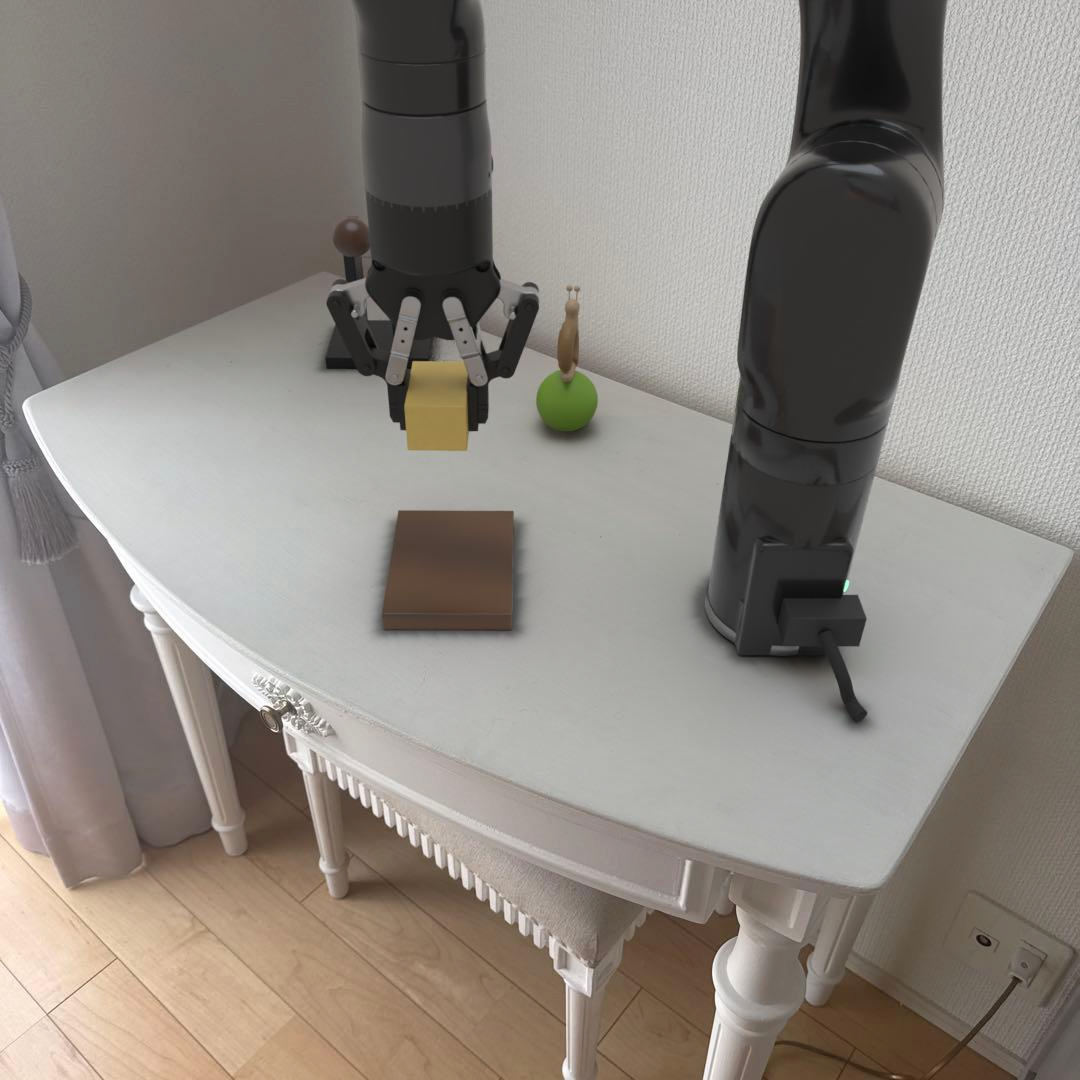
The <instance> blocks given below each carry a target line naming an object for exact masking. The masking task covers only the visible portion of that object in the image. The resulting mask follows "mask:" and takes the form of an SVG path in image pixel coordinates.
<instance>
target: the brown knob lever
mask: <svg viewBox="0 0 1080 1080" xmlns="http://www.w3.org/2000/svg"><path fill="white" fill-rule="evenodd" d="M347 217H348V218H347ZM347 217H345V218H343V219H341V220H339V221H338V222H337V223H336V225H335V226H334V227H333V231H332V242H333V245H334V247H335V248H336V250H337V251H338V252H339V253H340V254H341V255H345V256H347V257H359V256H360V257H362V258H365V259H368V258H369V259H371V249H370V237H369V226H368V223H366V222H365V221H364V220H362V219H361V218H359V217H358V218H355V217H356V216H347Z"/></svg>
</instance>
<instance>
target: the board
mask: <svg viewBox="0 0 1080 1080" xmlns="http://www.w3.org/2000/svg"><path fill="white" fill-rule="evenodd" d="M514 527H515V511H514V510H439V509H438V510H433V509H432V510H431V509H429V510H427V509H426V510H419V509H418V510H416V509H415V510H414V509H413V510H412V509H410V510H409V509H408V510H407V509H406V510H404V509H399V510H397V515H396V521H395V528H394V533H393V540H392V545H391V546H392V547H391V552H390V559H389V563H388V571H387V577H386V584H385V589H384V595H383V602H382V608H381V614H380V615H381V622H382V623H381V625H382V630H417V631H419V630H423V631H424V630H427V631H428V630H434V631H435V630H437V631H438V630H444V631H445V630H446V631H447V630H448V631H449V630H450V631H451V630H453V631H454V630H455V631H458V630H459V631H460V630H463V631H464V630H465V631H467V630H468V631H469V630H471V631H472V630H473V631H480V630H481V631H483V630H484V631H498V630H499V631H501V630H502V631H512V630H513V601H514V600H513V599H514V598H513V597H514V595H513V593H514V592H513V590H514V588H513V587H514V539H515V537H514V536H515V534H514V530H515V528H514Z"/></svg>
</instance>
